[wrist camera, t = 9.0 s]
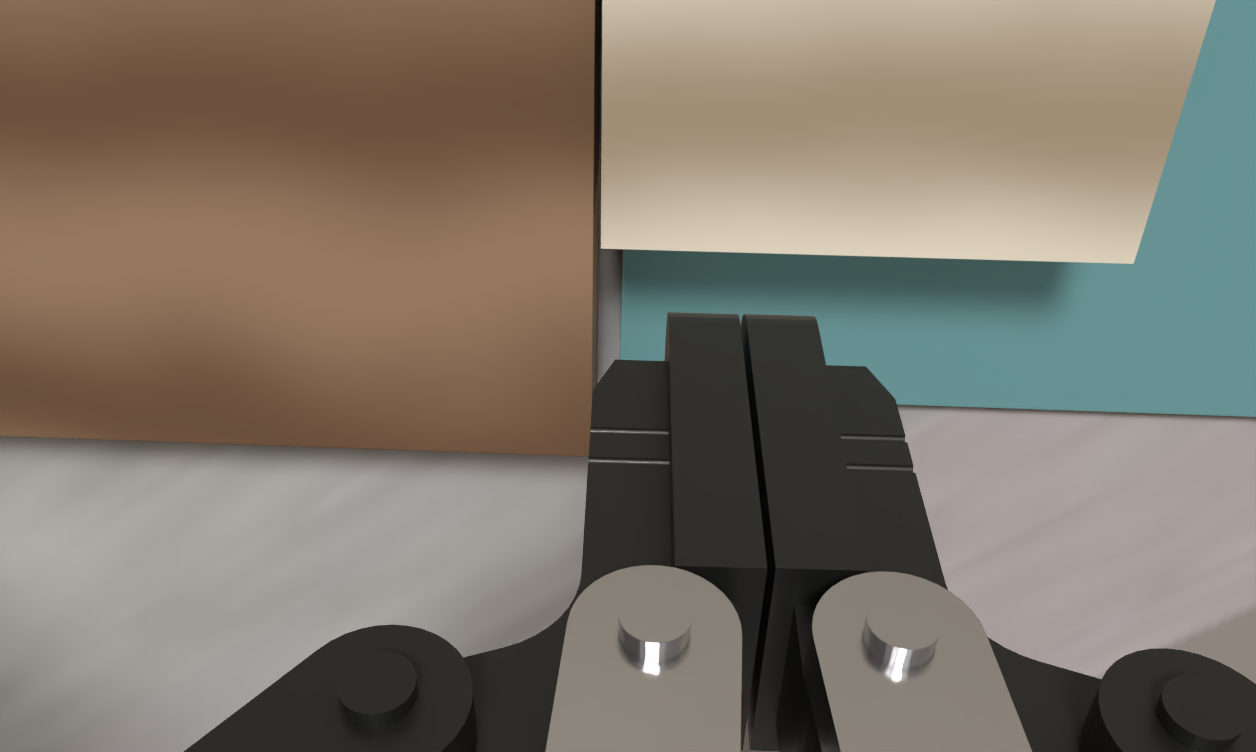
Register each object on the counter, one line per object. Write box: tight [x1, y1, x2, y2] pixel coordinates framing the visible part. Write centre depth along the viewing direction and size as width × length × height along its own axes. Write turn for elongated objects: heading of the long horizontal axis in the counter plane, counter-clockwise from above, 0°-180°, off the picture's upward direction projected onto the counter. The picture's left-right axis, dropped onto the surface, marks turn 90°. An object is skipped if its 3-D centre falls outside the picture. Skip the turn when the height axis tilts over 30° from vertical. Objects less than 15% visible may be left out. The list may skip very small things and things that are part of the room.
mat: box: [620, 0, 1256, 417], centre depth 21 cm, size 16×16×1 cm
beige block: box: [601, 0, 1216, 264], centre depth 20 cm, size 6×9×3 cm, turn 89°
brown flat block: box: [0, 0, 601, 456], centre depth 20 cm, size 16×14×2 cm
